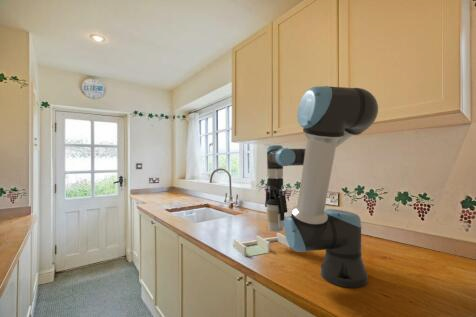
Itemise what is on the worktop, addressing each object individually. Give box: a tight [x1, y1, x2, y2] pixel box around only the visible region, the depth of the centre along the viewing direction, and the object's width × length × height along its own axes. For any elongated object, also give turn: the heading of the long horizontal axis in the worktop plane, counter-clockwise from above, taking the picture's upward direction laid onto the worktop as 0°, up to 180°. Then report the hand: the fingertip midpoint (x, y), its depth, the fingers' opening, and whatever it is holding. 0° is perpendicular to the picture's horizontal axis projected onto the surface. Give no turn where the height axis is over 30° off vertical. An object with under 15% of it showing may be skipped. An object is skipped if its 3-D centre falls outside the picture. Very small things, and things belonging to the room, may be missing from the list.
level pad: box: [245, 244, 270, 257], centre depth 110 cm, size 10×10×1 cm
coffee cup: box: [266, 199, 284, 233], centre depth 115 cm, size 9×9×15 cm
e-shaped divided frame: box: [232, 232, 291, 257], centre depth 115 cm, size 13×25×4 cm, turn 114°
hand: (275, 224), depth 114 cm, fingers closed on coffee cup, 8 cm apart
